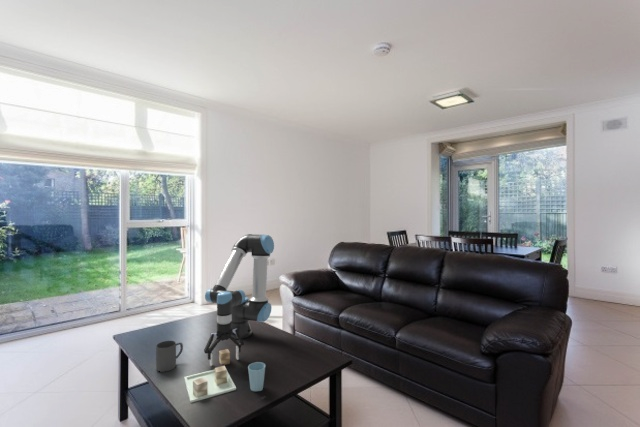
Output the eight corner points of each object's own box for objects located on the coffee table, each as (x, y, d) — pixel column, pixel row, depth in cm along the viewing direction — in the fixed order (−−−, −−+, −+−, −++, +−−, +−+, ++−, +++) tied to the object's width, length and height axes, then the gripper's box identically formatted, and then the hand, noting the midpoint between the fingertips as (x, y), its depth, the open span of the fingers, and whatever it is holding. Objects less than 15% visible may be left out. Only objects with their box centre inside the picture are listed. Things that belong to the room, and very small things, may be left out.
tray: (224, 369, 157) (225, 366, 157) (236, 391, 139) (236, 387, 139) (184, 380, 148) (184, 376, 148) (190, 404, 130) (190, 400, 130)
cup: (244, 388, 141) (244, 365, 141) (259, 382, 146) (260, 360, 146) (253, 396, 136) (253, 372, 135) (268, 389, 141) (268, 366, 140)
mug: (162, 374, 153) (162, 349, 153) (152, 368, 158) (152, 345, 158) (187, 362, 164) (187, 340, 164) (177, 358, 169) (177, 336, 169)
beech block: (224, 378, 149) (224, 365, 149) (226, 382, 145) (226, 369, 145) (214, 380, 146) (214, 367, 146) (216, 385, 143) (216, 372, 142)
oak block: (227, 359, 168) (227, 348, 168) (229, 363, 164) (229, 352, 164) (219, 362, 166) (219, 350, 165) (221, 365, 162) (221, 354, 162)
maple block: (203, 390, 139) (202, 377, 139) (207, 394, 135) (207, 381, 135) (192, 394, 135) (192, 380, 135) (197, 399, 132) (197, 385, 132)
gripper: (245, 315, 174) (245, 353, 174) (198, 323, 161) (198, 364, 162) (249, 320, 167) (249, 359, 168) (200, 328, 155) (200, 371, 155)
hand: (224, 362), depth 165 cm, fingers open, 13 cm apart
